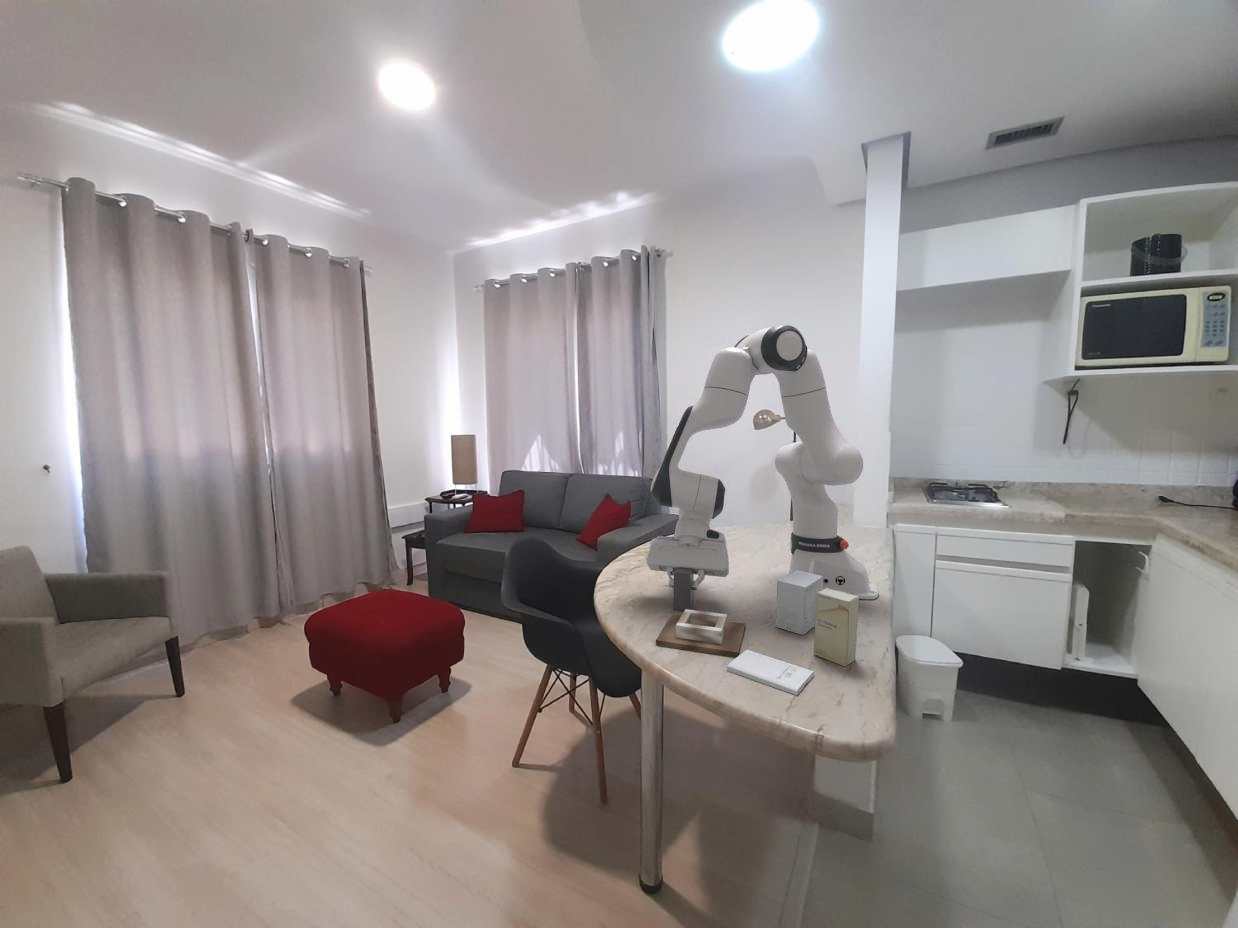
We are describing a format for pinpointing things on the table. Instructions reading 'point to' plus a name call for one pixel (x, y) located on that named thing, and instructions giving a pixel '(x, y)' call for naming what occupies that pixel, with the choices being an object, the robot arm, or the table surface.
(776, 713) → the table surface
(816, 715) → the table surface
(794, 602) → the skincare box
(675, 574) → the plug
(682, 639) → the socket board
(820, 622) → the skincare box
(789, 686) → the external hard drive
